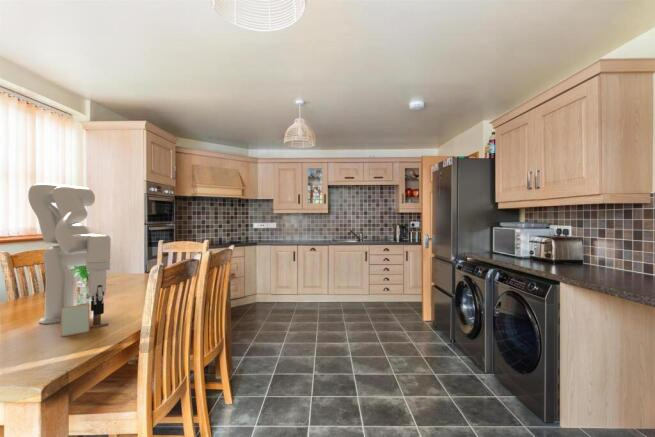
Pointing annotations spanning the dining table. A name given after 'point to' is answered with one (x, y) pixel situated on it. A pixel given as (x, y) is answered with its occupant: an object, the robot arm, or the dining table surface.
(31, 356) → the dining table surface
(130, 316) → the dining table surface
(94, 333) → the dining table surface
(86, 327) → the tile
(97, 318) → the tool
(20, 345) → the dining table surface
